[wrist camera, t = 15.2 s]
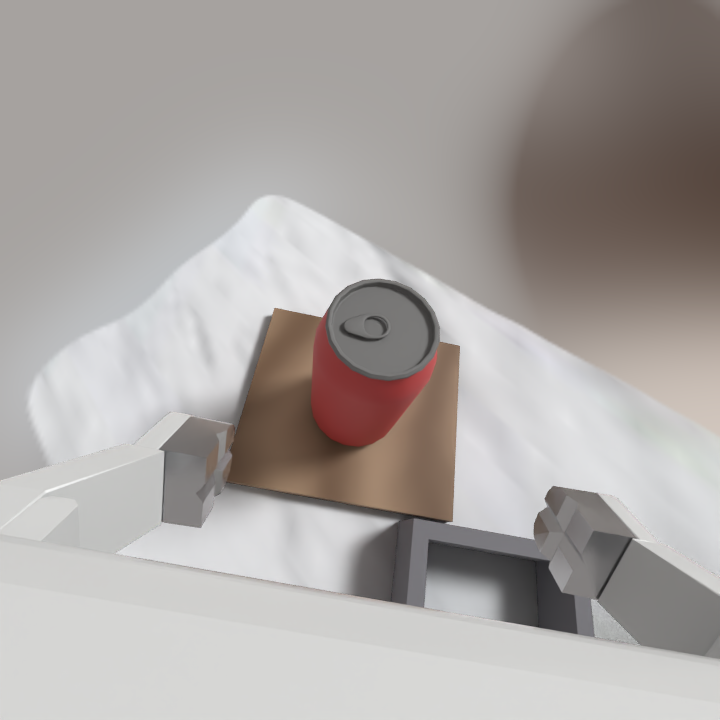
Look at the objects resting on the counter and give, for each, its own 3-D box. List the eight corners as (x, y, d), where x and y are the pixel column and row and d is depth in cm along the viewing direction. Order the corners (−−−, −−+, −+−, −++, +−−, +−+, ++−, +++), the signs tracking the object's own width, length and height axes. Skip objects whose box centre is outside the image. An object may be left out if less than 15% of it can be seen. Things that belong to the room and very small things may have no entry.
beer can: (310, 365, 30) (313, 266, 19) (392, 365, 30) (440, 271, 20) (310, 450, 27) (315, 390, 16) (401, 447, 28) (462, 388, 17)
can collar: (548, 547, 27) (585, 549, 23) (561, 754, 22) (610, 795, 19) (399, 521, 26) (413, 518, 23) (378, 726, 22) (393, 764, 18)
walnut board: (455, 351, 33) (459, 345, 32) (447, 522, 27) (452, 521, 26) (275, 314, 32) (274, 307, 31) (224, 481, 26) (221, 479, 25)
